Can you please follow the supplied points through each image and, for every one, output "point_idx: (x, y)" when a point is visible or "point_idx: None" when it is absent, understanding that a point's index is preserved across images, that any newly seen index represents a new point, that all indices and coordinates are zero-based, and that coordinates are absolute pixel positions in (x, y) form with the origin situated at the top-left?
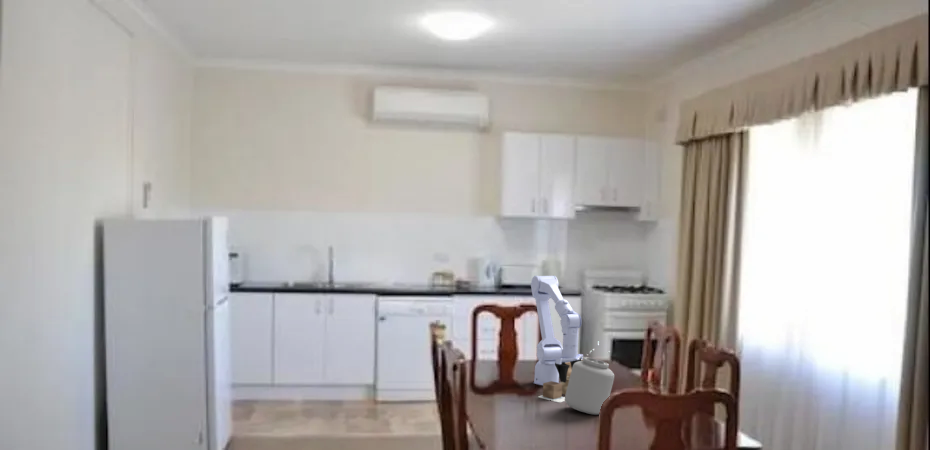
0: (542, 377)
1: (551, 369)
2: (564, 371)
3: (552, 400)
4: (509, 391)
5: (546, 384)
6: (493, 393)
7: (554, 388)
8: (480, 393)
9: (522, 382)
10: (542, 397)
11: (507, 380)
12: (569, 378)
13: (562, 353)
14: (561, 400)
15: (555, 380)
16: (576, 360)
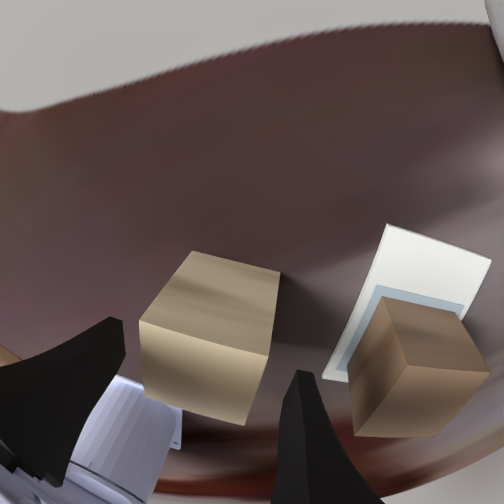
0: (165, 453)
1: (133, 469)
2: (355, 472)
3: (468, 307)
4: (363, 465)
5: (449, 417)
6: (410, 471)
7: (476, 357)
8: (421, 479)
9: (206, 467)
10: None
11: (221, 487)
12: (205, 376)
13: None
14: (457, 264)
15: (132, 408)
16: (19, 465)
